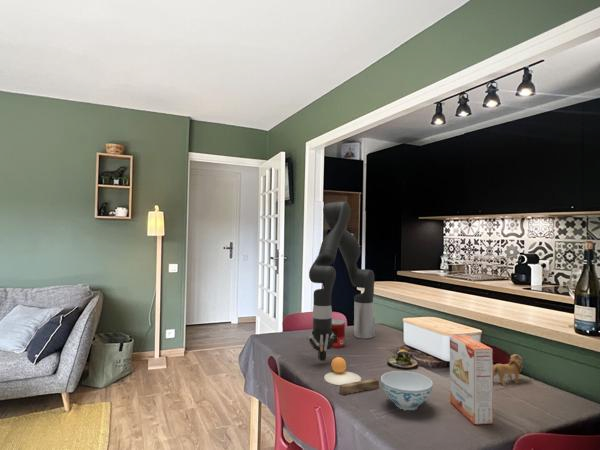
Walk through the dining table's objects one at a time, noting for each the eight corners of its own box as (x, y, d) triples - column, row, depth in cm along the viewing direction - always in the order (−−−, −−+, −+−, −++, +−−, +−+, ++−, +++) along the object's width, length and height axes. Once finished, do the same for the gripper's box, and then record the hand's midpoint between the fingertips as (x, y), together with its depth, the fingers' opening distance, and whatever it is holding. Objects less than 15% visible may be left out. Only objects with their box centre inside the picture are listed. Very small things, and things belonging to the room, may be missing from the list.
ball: (350, 371, 141) (340, 370, 146) (347, 355, 142) (337, 355, 147) (339, 375, 138) (329, 374, 142) (336, 358, 139) (326, 359, 143)
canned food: (344, 343, 179) (344, 319, 179) (344, 348, 171) (344, 323, 171) (328, 342, 180) (328, 319, 180) (327, 347, 172) (327, 323, 172)
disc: (348, 369, 145) (348, 369, 145) (368, 382, 133) (368, 381, 133) (318, 374, 140) (318, 374, 140) (335, 388, 128) (335, 387, 128)
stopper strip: (375, 385, 130) (375, 378, 130) (378, 388, 129) (378, 380, 129) (339, 392, 125) (339, 384, 125) (342, 395, 123) (342, 387, 123)
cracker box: (448, 402, 118) (448, 334, 118) (467, 401, 119) (467, 334, 119) (472, 425, 104) (472, 348, 104) (494, 424, 105) (494, 347, 105)
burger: (382, 366, 150) (382, 347, 150) (394, 358, 159) (394, 340, 160) (412, 373, 143) (412, 353, 143) (422, 364, 152) (422, 345, 152)
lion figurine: (513, 376, 140) (513, 351, 140) (527, 381, 135) (527, 356, 135) (485, 383, 133) (485, 357, 133) (498, 389, 128) (498, 362, 129)
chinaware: (375, 395, 123) (375, 371, 123) (420, 394, 124) (420, 370, 124) (389, 418, 108) (389, 391, 108) (441, 417, 109) (441, 389, 109)
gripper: (332, 312, 158) (332, 355, 157) (303, 315, 152) (302, 359, 152) (341, 316, 151) (341, 360, 151) (311, 319, 145) (311, 365, 145)
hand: (322, 360), depth 151 cm, fingers closed
